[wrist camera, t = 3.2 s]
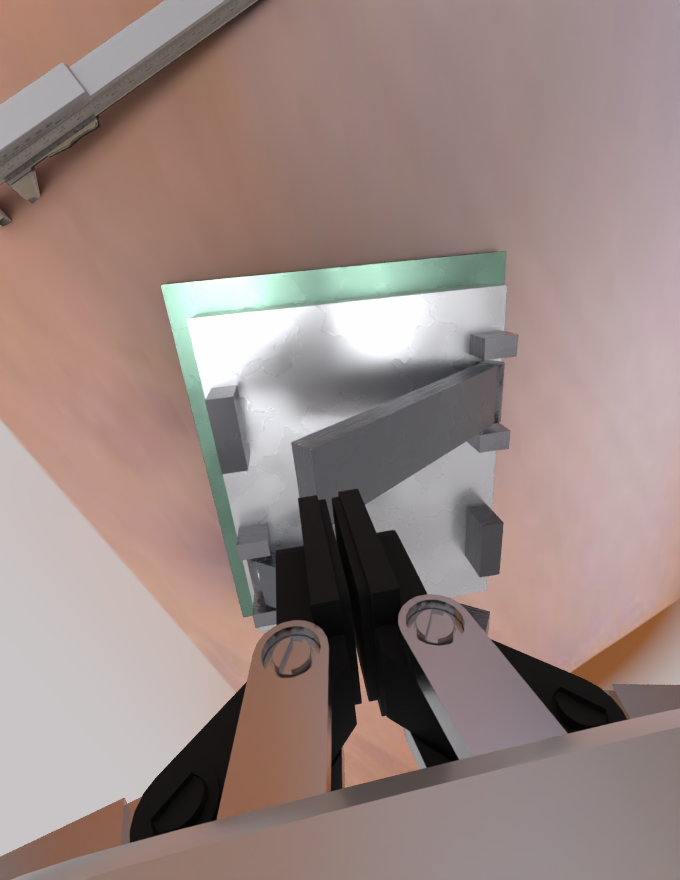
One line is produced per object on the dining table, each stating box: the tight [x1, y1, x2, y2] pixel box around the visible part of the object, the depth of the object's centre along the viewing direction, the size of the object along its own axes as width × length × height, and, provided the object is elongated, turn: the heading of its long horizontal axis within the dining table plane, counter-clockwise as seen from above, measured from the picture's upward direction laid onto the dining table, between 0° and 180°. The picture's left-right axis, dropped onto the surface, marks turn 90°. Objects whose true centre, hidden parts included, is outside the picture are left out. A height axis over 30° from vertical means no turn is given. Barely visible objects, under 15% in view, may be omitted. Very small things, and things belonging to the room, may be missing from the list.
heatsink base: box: [161, 251, 518, 633], centre depth 23 cm, size 18×22×6 cm
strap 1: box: [291, 360, 505, 525], centre depth 17 cm, size 13×3×1 cm
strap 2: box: [247, 552, 490, 635], centre depth 20 cm, size 13×3×1 cm
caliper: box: [0, 0, 259, 226], centre depth 15 cm, size 20×1×6 cm, turn 125°
